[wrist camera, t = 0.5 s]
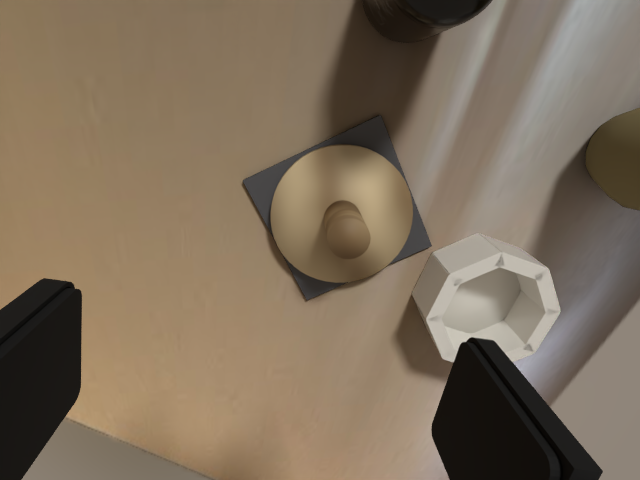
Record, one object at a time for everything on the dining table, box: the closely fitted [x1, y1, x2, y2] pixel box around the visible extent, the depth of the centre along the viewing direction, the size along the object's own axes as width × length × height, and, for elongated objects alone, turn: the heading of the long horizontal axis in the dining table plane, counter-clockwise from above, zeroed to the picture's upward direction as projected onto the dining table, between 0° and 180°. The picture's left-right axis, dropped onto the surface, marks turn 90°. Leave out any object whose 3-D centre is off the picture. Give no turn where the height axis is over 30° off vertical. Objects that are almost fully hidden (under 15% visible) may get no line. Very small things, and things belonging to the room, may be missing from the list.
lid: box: [271, 144, 413, 283], centre depth 32 cm, size 12×12×6 cm
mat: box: [243, 115, 432, 300], centre depth 35 cm, size 12×12×1 cm
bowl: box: [412, 233, 561, 362], centre depth 36 cm, size 10×10×4 cm
